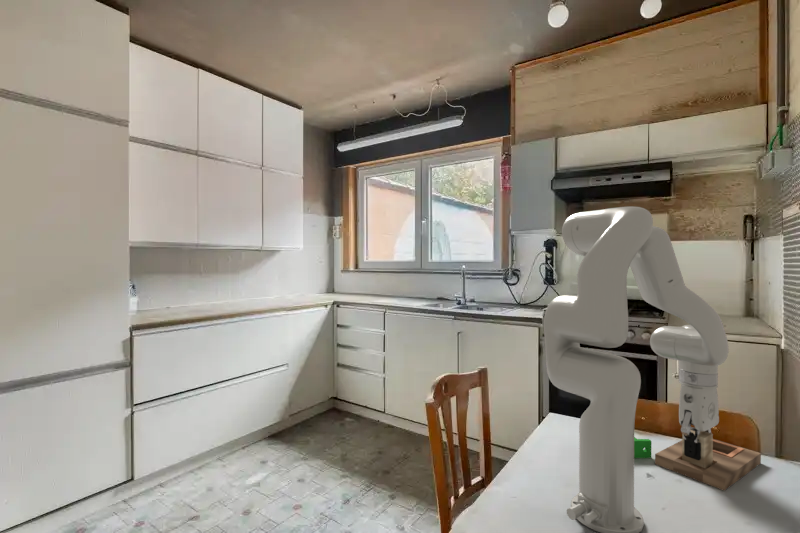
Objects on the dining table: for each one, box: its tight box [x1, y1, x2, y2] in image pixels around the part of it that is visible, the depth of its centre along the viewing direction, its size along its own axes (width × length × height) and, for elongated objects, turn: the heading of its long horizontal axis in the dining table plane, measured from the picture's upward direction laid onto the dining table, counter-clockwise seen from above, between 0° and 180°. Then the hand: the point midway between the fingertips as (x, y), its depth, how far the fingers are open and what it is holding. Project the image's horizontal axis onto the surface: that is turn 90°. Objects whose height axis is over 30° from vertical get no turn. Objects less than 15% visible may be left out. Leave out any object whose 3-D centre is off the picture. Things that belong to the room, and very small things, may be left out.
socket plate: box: [654, 438, 762, 491], centre depth 101 cm, size 22×14×3 cm, turn 123°
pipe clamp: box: [634, 436, 652, 459], centre depth 106 cm, size 11×4×5 cm, turn 89°
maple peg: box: [681, 430, 714, 469], centre depth 97 cm, size 4×4×9 cm
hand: (697, 454), depth 97 cm, fingers closed on maple peg, 4 cm apart
